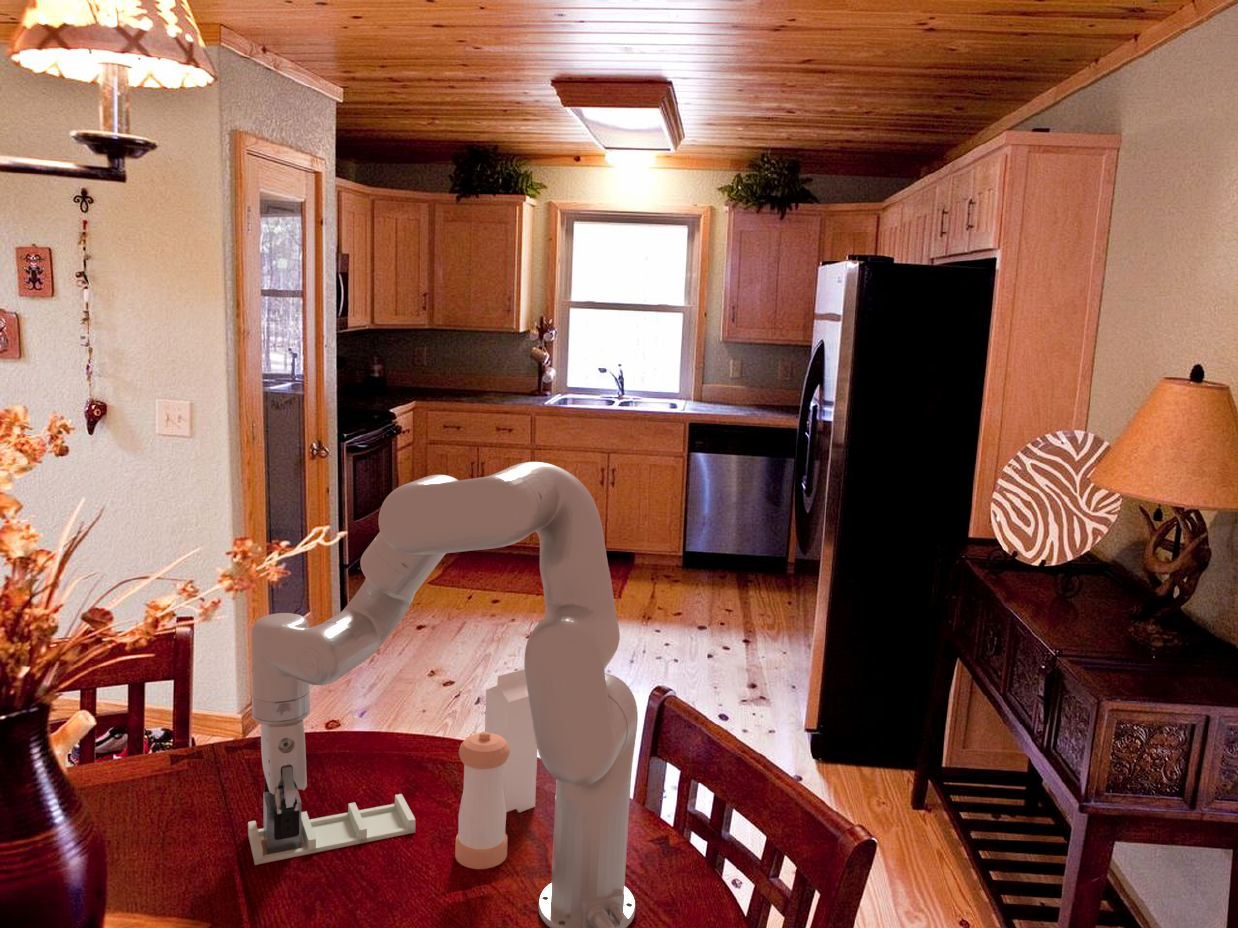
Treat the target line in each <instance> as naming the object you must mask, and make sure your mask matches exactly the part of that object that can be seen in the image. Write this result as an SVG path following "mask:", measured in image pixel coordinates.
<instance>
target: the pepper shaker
mask: <svg viewBox="0 0 1238 928" xmlns="http://www.w3.org/2000/svg"><path fill="white" fill-rule="evenodd" d="M459 745H460V746H459V747H458V748H459V749H458V755H459V758H460V760H461V762H462V764H463V766H464V767H463V791H462V794H461V799H460V805H459V811H458V833H457V834H456V837H455V853H454V854H455V855H454V858H455V860H456V862H457V863H459V864H460V865H461V866H464V867H466V868H469V869H475V870H486V869H489V868H490V869H491V868H495V867H496V866H499V865H502V863H503V862H504V861H505V860H506V859H507V856H508V834H507V833H506V824H507V823H506V821H507V812H506V808H505V800H504V792H503V766H504V763H505V762H506V760H507V759H508V757H509V754H510V748H509V745H508V743H507V742H506V740H505V739H504V738H503V737H501V736H499V735H496V734H492V733H489V732H486V731H485V730H484V731H481V732H479V733H475V734H471V735H469V736H467V737H466V738H465V739H464V740H463V741H462V742H461V744H459Z"/></svg>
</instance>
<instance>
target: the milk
mask: <svg viewBox="0 0 1238 928" xmlns="http://www.w3.org/2000/svg"><path fill="white" fill-rule="evenodd" d="M484 731H486V732H489V733H492V734H496V735H499V736H501V737H503V738H504V739H505V740H506V742H507V743H508V745H509V748H510V754H509V757H508V759H507V760H506V762H505V763H504V766H503V792H504V800H505V808H506V813H508V812H511V811H514V810H516V811H517V812H518V813H522V812H524V811H527V810H530V809H533V808H535V807H536V793H537V791H536V790H537V769H538V768H537V767H538V749H537V745H536V740H535V734H534V728H533V721H532V715H531V709H530V703H529V696H528V690H527V684H526V677H525V669H524V668H523V669H519V670H514V671H511V672H507V673H502V674H499V675H498V676H497V684H496V685H494V686H492V687H489V688H486V689H485V717H484Z"/></svg>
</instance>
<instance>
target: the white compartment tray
mask: <svg viewBox="0 0 1238 928" xmlns="http://www.w3.org/2000/svg"><path fill="white" fill-rule="evenodd" d="M347 806H348V807H347V811H348V812H343V813H338V814H337V813H336V814H332V815H326V816H321V817H317V818H315V817H314V818H311V819H310V817H309V814H308V811H307V810H306V811H301V848H299V849H294V850H289V851H284V852H279V853H274V854H269V855H267V852H266V847H265V843H264V827H263V828H258V826H257V821H256V820H252V821H251V820H250V821H248V822H247V826H248V827H247V833H248V834H247V836H248V840H249V844H250V849H251V854H252V858H253V863H254V866H257V865H260V864H266V863H270V862H275V861H280V860H281V861H282V860H286V859H290V858H294V857H295V858H296V857H300V856H306V855H311V854H315V853H320V852H321V853H322V852H325V851H326V852H327V851H330V850H331V851H332V850H335V849H340V848H345V847H350V846H354V845H360V844H364V843H370V842H374V841H380V840H385V839H390V838H393V837H398V836H399V837H400V836H404V835H408V834H414V833H416V818H415V815H414V814H413V812H412V810H411V809H410V808H411V807H409V805H408V803H407V801H406V799H405V797H404V795H403V794H402V793H399V794H395V795H394V803H391V804H387V805H380V806H375V807H370V808H364V809H359V808H358V806H357V804H356V802H350V803H348V805H347Z"/></svg>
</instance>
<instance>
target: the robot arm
mask: <svg viewBox="0 0 1238 928" xmlns="http://www.w3.org/2000/svg"><path fill="white" fill-rule="evenodd" d="M594 500H595V499H594V498H593V496H592V495H591V492H589V490H588V488H587V487H586V486H585V485H584V483H583V482H581V480H580V479H578V478H577V477H576V476H575V475H574V474H572V473H570V472H569V471H568V470H566V469H564V468H563V467H560V466H556V465H555V464H551V463H548V462H542V461H541V462H540V461H528V462H526V461H525V462H522V463H517V464H515V465H511V466H508V467H507V468H505V469H503V470H500V471H498V472H495V473H494V474H491V475H487V476H483V477H475V478H468V479H461V480H459V479H457V478H455V477H453V476H450V475H445V474H431V475H427V476H425V477H422V478H419V479H416V480H413V481H410V482H408V483H405V484H402V485H400V486H398V487H396V488H395V489H393V491H391V492H390V493H389V494H388V495H387V496H386V498H385V499H384V501H383V502H382V505H381V507H380V509H379V514H378V528H379V532H378V533H377V535H376V536H375V538H374V539H373V540H372V541H371V543H370V544H369V545H368V546H367V548H366V549H365V551H364V552H363V553H362V555H361V558H360V561H359V562H360V568H361V569H360V570H361V571H362V572H361V573H362V574H363V575H364V577H365V579H364V582H363V583H362V584H361V585H360V588H359V589H358V590H357V592H356V593H355V594H354V596H353V597H352V598H351V600H350V601H349V602H348V603H347V605H346V606H345V607H344V609H343V610H342V611H340V613H338V614H335V615H334V616H332V617H331V618H328V619H327V620H325V621H323V622H322V623H320V624H317V625H314V626H311V627H310V623H309V621H308V620H307V618H305V616H302V615H300V614H296V613H291V612H278V613H271V614H267V615H264V616H262V617H260V618H258V619H257V620H256V621H254V623H253V626H252V628H251V717H252V720H253V721H254V722H256V723H257V724H260V748H261V763H262V771H263V774H264V792H269V791H270V793H272V794H274V795H275V802H276V811H274V838H275V840H281V839H286V838H291V837H296V836H298V835H299V807H298V796H297V789H298V791H299V790H302V791H304V790H305V789H306V788H307V787H308V783H307V782H308V781H307V779H308V778H307V757H306V756H307V755H306V754H307V750H306V733H305V724H304V720H305V719H306V718H307V717H309V716H310V712H311V700H310V699H311V685H312V686H319V687H320V686H321V687H322V686H327V685H330V684H333V683H335V682H336V681H338V680H340V679H341V678H342V677H344V676H345V675H347V674H348V673H349V672H351V671H352V670H353V669H355V668H356V667H359V665H360V664H362V663H364V662H365V661H367V660H369V659H370V657H372V656H373V655H374V654H375V653H376V652H377V651H378V650H379V649H380V648H381V646H382V645H383V644H384V643H385V642H386V640H387V639H388V638H389V636H390V635H391V634H392V633H393V631H394V630H395V629H396V628H397V627H398V625H399V623H400V622H401V621H402V619H404V617H405V615H406V614H407V611H408V610H409V609H410V606H411V604H412V602H414V599H415V595H416V593H418V591H419V589H420V588H421V586H423V584H424V582H425V581H426V580H427V579H428V577H429V576H430V575H431V573H432V572H433V571H434V570H435V568H436V567H437V565H438V564H439V563H440V562H441V561H442V559H443V558H444V556H445V555H446V554H451V553H459V552H460V553H461V552H469V551H471V552H472V551H479V550H491V549H492V550H493V549H499V548H504V547H507V546H511V545H514V544H517V543H519V542H521V541H522V540H524V539H526V538H528V537H529V536H530V535H532V534H533V533H536V534H537V536H538V539H539V540H538V541H539V573H540V578H541V584H542V587H543V589H542V590H543V597H544V607H545V608H544V609H545V610H544V611H545V612H544V617H543V618H542V620H540V621H539V623H537V625H535V627H534V628H533V630H532V631H531V632H530V635H529V636H528V640H527V641H526V645H525V650H524V659H523V660H524V661H523V663H524V665H523V666H524V668H523V669H525V677H526V684H527V690H528V696H529V703H530V709H531V715H532V721H533V728H534V734H535V740H536V745H537V753H538V755H539V758H540V760H541V762H542V764H543V765H544V767H545V769H546V770H547V771H548V773H550V775H551V776H553V777H554V779H556V781H555V796H554V797H555V798H554V817H553V818H554V820H553V821H554V822H553V843H552V864H551V865H552V867H551V870H552V871H551V883H549V884H548V885H547V886H546V887H544V889H543V890H542V892H541V893H540V894H539V895H540V896H539V898H538V914H539V916H540V918H541V920H542V921H543V922H544V924H545V925H546V926H547V927H549V928H628V926H629V925H630V924H632V922H633V920H634V918H635V913H636V901H635V897H634V896H633V894H632V892H631V891H630V890H629V888H627V887H626V886H625V882H626V867H627V865H626V864H627V851H628V850H627V848H628V834H629V833H628V831H629V815H630V812H629V811H630V799H631V786H632V784H631V782H632V771H633V763H634V755H635V747H636V739H637V732H638V720H639V719H638V716H639V715H638V706H637V701H636V698H635V696H634V694H633V691H632V689H630V687H629V685H627V683H626V682H624V680H622V679H620V678H619V677H618V676H616V675H614V674H611V673H606V671H605V669H606V668H607V666H608V665H609V664H610V662H611V661H612V659H613V658H614V655H615V654H616V653H617V650H618V648H619V644H620V627H619V622H618V617H617V610H616V603H615V597H614V592H613V585H612V578H611V577H612V576H611V572H610V566H609V562H608V557H607V556H608V555H607V550H606V549H607V548H606V542H605V536H604V530H603V526H602V525H603V524H602V520H601V516H600V512H599V509H598V506H597V505H596V502H595V501H594ZM282 794H284V799H282V802H281V800H280V795H282Z"/></svg>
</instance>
